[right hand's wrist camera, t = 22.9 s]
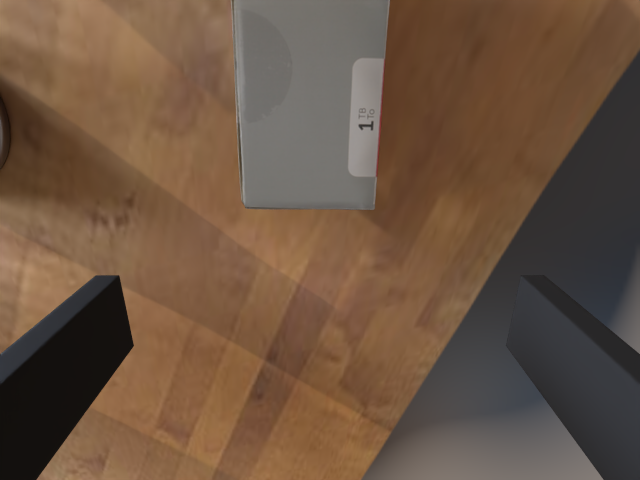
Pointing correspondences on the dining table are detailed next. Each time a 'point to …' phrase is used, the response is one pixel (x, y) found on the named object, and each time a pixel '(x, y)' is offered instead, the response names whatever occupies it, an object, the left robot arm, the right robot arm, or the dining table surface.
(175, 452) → the dining table surface
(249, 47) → the hard drive box
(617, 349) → the right robot arm
